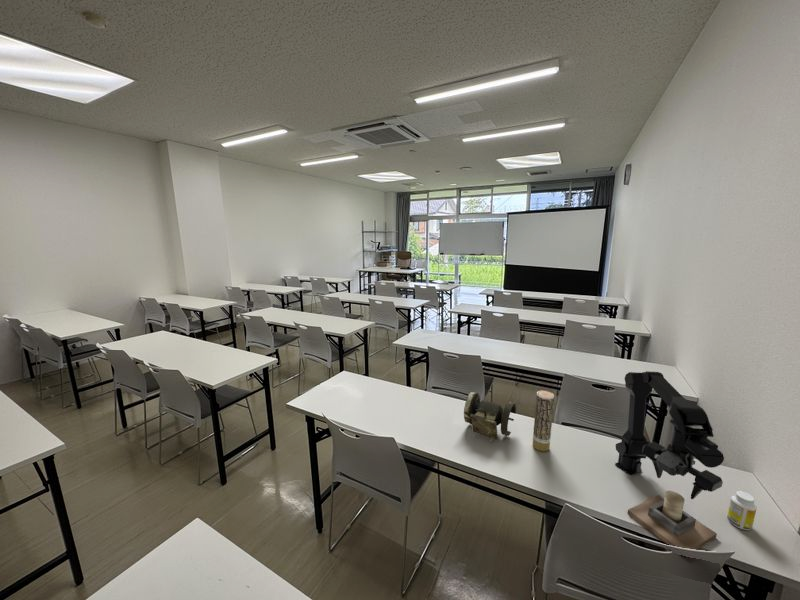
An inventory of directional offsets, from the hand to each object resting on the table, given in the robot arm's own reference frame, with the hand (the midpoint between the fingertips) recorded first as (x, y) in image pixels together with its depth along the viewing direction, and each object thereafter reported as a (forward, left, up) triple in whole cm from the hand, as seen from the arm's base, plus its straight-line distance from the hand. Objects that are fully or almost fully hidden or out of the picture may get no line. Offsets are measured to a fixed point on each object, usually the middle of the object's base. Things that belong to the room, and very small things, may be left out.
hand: (674, 487), depth 102 cm
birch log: (-44, -10, -12) cm, 46 cm away
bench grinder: (-62, -25, -12) cm, 68 cm away
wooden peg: (+1, -2, -10) cm, 11 cm away
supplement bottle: (+9, +19, -12) cm, 24 cm away
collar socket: (+1, -2, -12) cm, 12 cm away
